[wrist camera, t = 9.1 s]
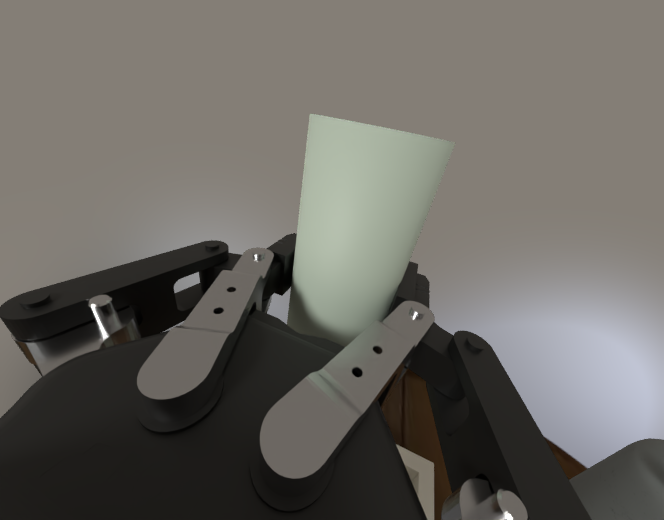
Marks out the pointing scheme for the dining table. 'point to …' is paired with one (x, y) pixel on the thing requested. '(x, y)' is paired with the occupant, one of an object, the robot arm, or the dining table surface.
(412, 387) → the dining table surface
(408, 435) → the dining table surface
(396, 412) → the dining table surface
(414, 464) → the cream pocket
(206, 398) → the robot arm
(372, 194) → the sage canister
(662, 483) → the water bottle
